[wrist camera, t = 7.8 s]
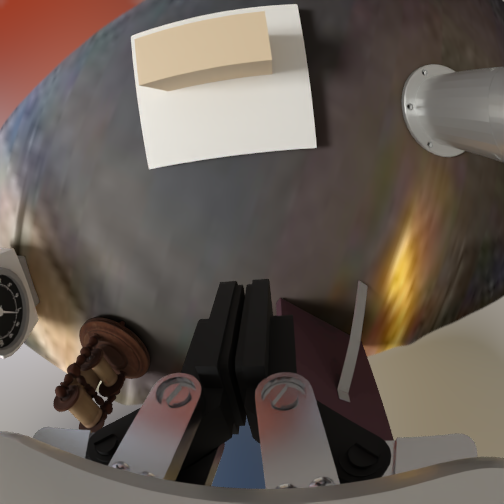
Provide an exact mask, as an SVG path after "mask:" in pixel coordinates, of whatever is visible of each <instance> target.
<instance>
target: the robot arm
mask: <svg viewBox="0 0 504 504" xmlns="http://www.w3.org/2000/svg"><path fill="white" fill-rule="evenodd" d="M422 73H423V74H422ZM407 105H408V106H409V108H407ZM402 111H403V116H404V120H405V123H406V125H407V128H408V129H409V131H410V133H411V135H412V136H413V138H414V139H415V140H416V142H417V143H418V144H419V145H420V146H421V147H423V148H424V149H425V150H427V151H428V152H430V153H433V154H435V155H438V156H442V157H453V156H457V155H459V154H461V153H463V152H464V151H467V152H471V153H474V154H478V155H481V156H484V157H487V158H491V159H494V160H497V161H500V162H503V163H504V67H495V68H484V69H475V70H467V71H460V72H455V71H454V70H452V69H450V68H448V67H445V66H442V65H436V64H431V65H426V66H423V67H420V68H418V69H417V70H415V71H414V72H413V73H412V74H411V75H410V76H409V77H408V79H407V81H406V82H405V85H404V88H403V92H402ZM427 144H428V145H427ZM246 415H247V419H248V422H249V426H250V429H251V433H252V436H253V438H254V439H255V440H256V441H257V442H258V443H260V445H261V453H262V461H263V469H264V477H265V485H266V489H241V488H224V487H214V486H211V485H212V482H213V479H214V477H215V473H216V471H217V468H218V465H219V462H220V459H221V456H222V453H223V450H224V445H225V444H224V442H226V441H227V440H229V439H230V438H232V434H238V433H239V426H245V422H246ZM0 504H504V458H499V457H477V449H476V446H475V442H474V441H473V440H472V439H471V438H470V437H469V436H467V435H465V434H448V435H438V436H425V437H406V438H405V437H404V438H397V439H396V440H395V441H384V440H383V439H382V438H380V437H379V436H377V435H375V434H374V433H372V432H370V431H368V430H366V429H365V428H363V427H361V426H359V425H358V424H356V423H354V422H352V421H351V420H349V419H347V418H345V417H344V416H342V415H340V414H339V413H337V412H335V411H334V410H332V409H330V408H329V407H327V406H326V405H324V404H322V403H321V402H319V401H318V400H316V399H315V396H314V392H313V389H312V386H311V385H310V383H309V381H308V380H306V379H305V378H304V377H303V376H301V375H298V374H297V367H296V351H295V336H294V321H293V315H281V316H273V311H272V302H271V292H270V283H269V279H261V280H253V282H252V284H248V285H247V287H246V294H244V288H243V285H238V284H237V282H236V281H231V282H220V285H219V288H218V291H217V294H216V298H215V301H214V304H213V307H212V311H211V314H210V317H209V319H200V320H199V321H198V324H197V326H196V329H195V332H194V335H193V338H192V341H191V344H190V347H189V350H188V353H187V356H186V359H185V362H184V365H183V368H182V371H181V373H174V374H170V375H167V376H165V377H163V378H161V379H160V380H159V381H157V382H156V384H155V385H154V386H153V388H152V389H151V391H150V393H149V394H148V396H147V398H146V400H145V401H144V403H143V405H142V407H141V408H139V409H137V410H136V411H134V412H132V413H130V414H128V415H126V416H124V417H122V418H120V419H118V420H116V421H115V422H113V423H111V424H109V425H107V426H105V427H103V428H101V429H99V430H97V431H96V432H95V433H92V432H91V430H78V429H63V428H52V427H45V428H42V429H40V430H38V431H37V432H36V433H35V435H34V437H33V438H31V437H28V436H25V435H22V434H19V433H14V432H2V431H0Z"/></svg>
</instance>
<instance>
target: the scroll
mask: <svg viewBox="0 0 504 504" xmlns="http://www.w3.org/2000/svg"><path fill="white" fill-rule="evenodd" d="M79 336H80V342H81V345H82V347H83V348H82V349H81V351H80V353H81V355H79V356H78V357H77V361H76V363H73V364H71V365H70V366H69V367H68V368H67V372H68V374H66V375H65V378H64V382H61V383H60V385H61V386H57V387H56V389H55V393H56V397H55V399H54V408H55V409H56V410H57V411H59V412H62V411H66V410H69V411H70V412H71V413H72V414H73V415H74V416H75V417H76V418H77V419H78V420H79V421H80V424H79V430H91V432H92V433H95V432H96V431H97V430H99V429H101V428H102V427H103V426H104V422H105V419H106V418H107V414H110V413H111V412H112V410H113V408H112V402H113V401H114V400H115V399H116V395H118V394H119V393H120V389H121V388H122V386H123V383H124V381H125V378H129V379H133V378H139V377H141V376H143V375H144V374H145V373H146V372H147V370H148V368H149V365H150V356H149V353H148V350H147V348H146V347H145V345H144V344H143V342H142V341H141V340H140V339H139V338H138V336H136V335H135V334H134V333H133V332H132V331H131V330H129V329H128V328H126V327H125V322H124V321H121V322H120V323H118V322H116V321H113V320H110V319H107V318H91V319H89V320H87V321H86V322H85V323H84V325H83V326H82V327H81V329H80V335H79ZM100 380H101V381H102V383H101V384H100V386H99V393H100V394H101V395H102V396H104V397H108V399H107V401H105V402H104V400H103V399H102V398H101V397H100V396H98V395H97V392H95V390H96V388H97V386H98V384H99V382H100ZM92 398H94V399H95V401H96V403H97V404H98V405H100V408H99V406H98V405H97V404H96V403H95V402H94V401H93V400H92Z"/></svg>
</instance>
